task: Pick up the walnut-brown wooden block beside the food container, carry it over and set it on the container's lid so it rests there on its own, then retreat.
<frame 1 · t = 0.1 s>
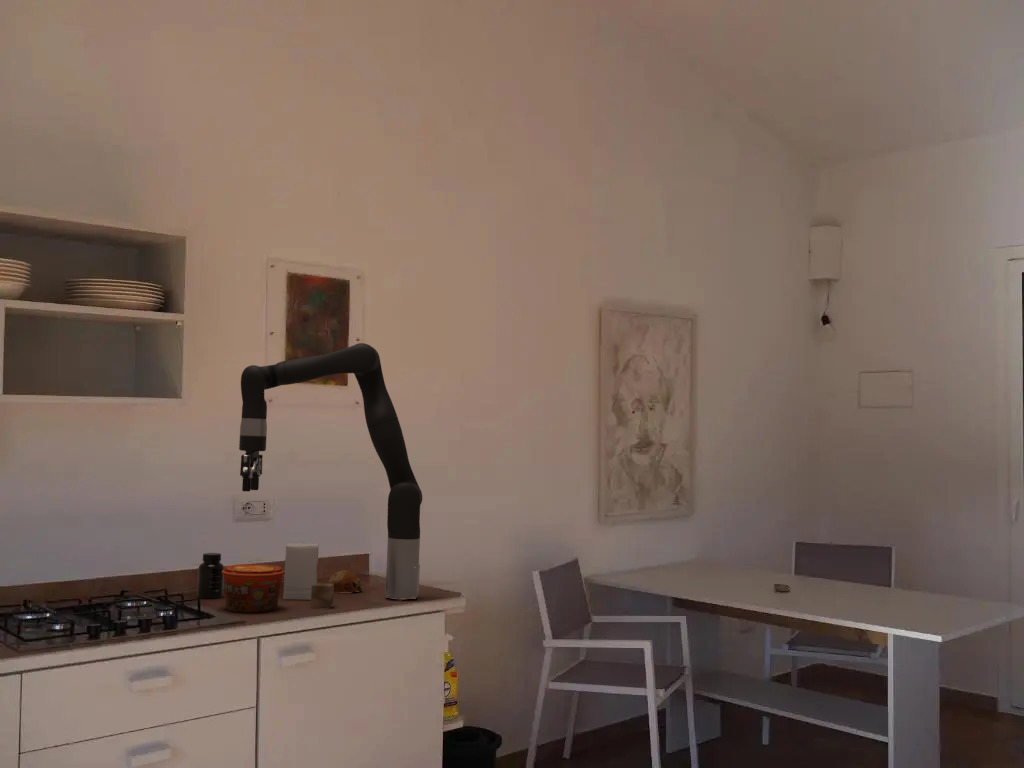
hand: (250, 490, 286), 29 cm above the worktop, fingers open, 8 cm apart
supplement bottle: (209, 598, 275), on the worktop
supplement box: (300, 598, 279), on the worktop
bread roll: (345, 592, 294), on the worktop
food container: (251, 609, 258), on the worktop
walnut block: (321, 607, 265), on the worktop
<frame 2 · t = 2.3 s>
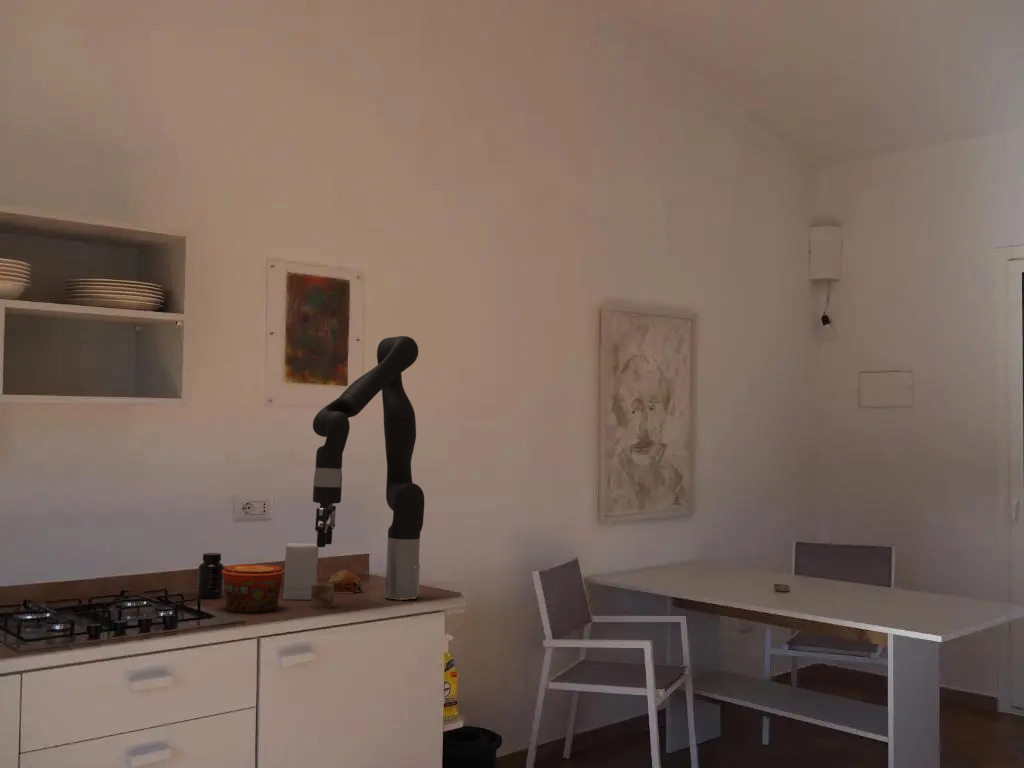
hand: (324, 545, 266), 16 cm above the worktop, fingers open, 8 cm apart
nothing on the worktop moved.
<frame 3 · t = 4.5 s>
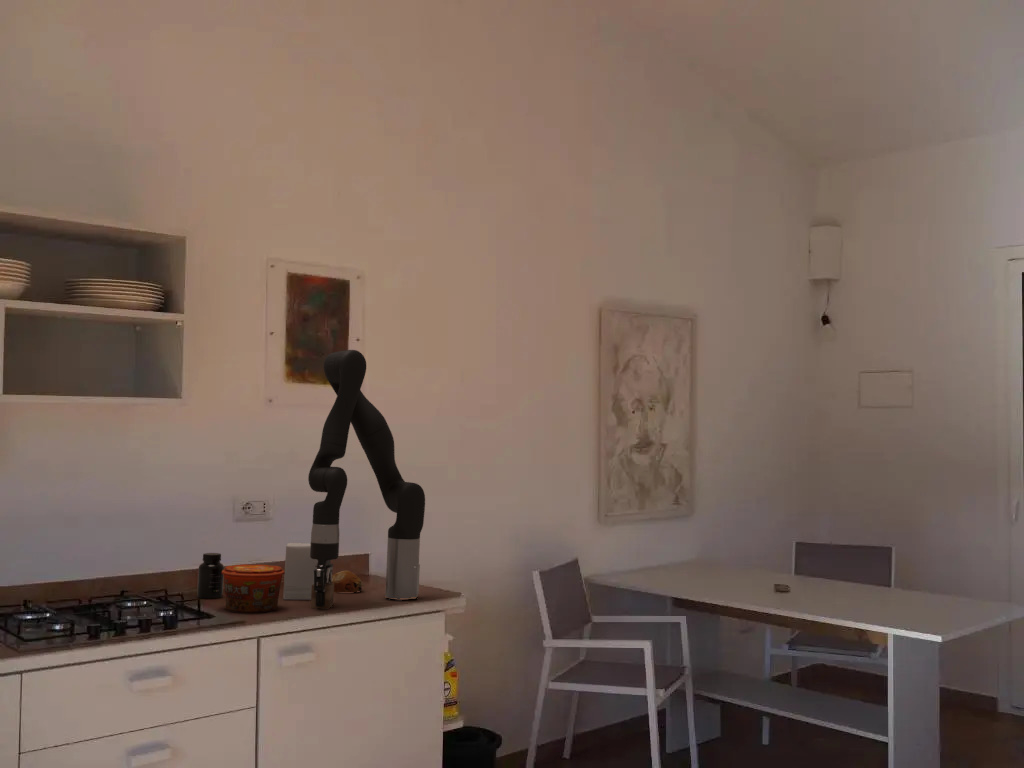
hand: (322, 604, 265), 1 cm above the worktop, fingers closed on walnut block, 5 cm apart
walnut block: (321, 607, 265), on the worktop, touching gripper
everything else where it was.
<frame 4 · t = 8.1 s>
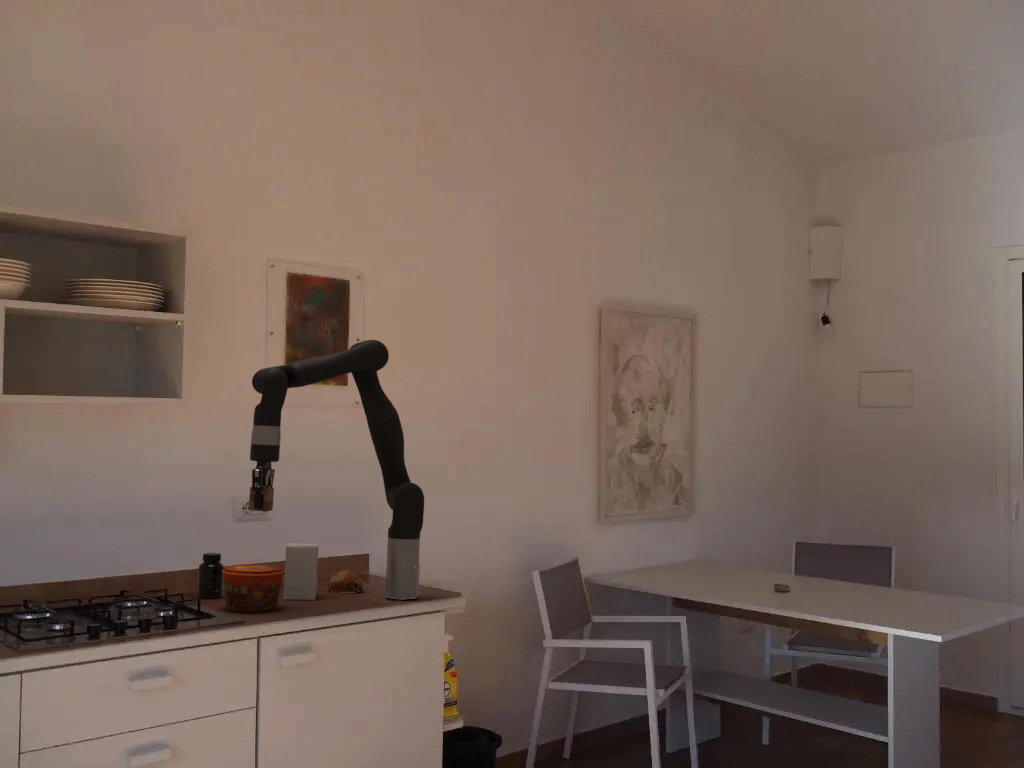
hand: (261, 507, 260), 26 cm above the worktop, fingers closed on walnut block, 5 cm apart
walnut block: (260, 510, 260), point 26 cm above the worktop, touching gripper
everything else where it was.
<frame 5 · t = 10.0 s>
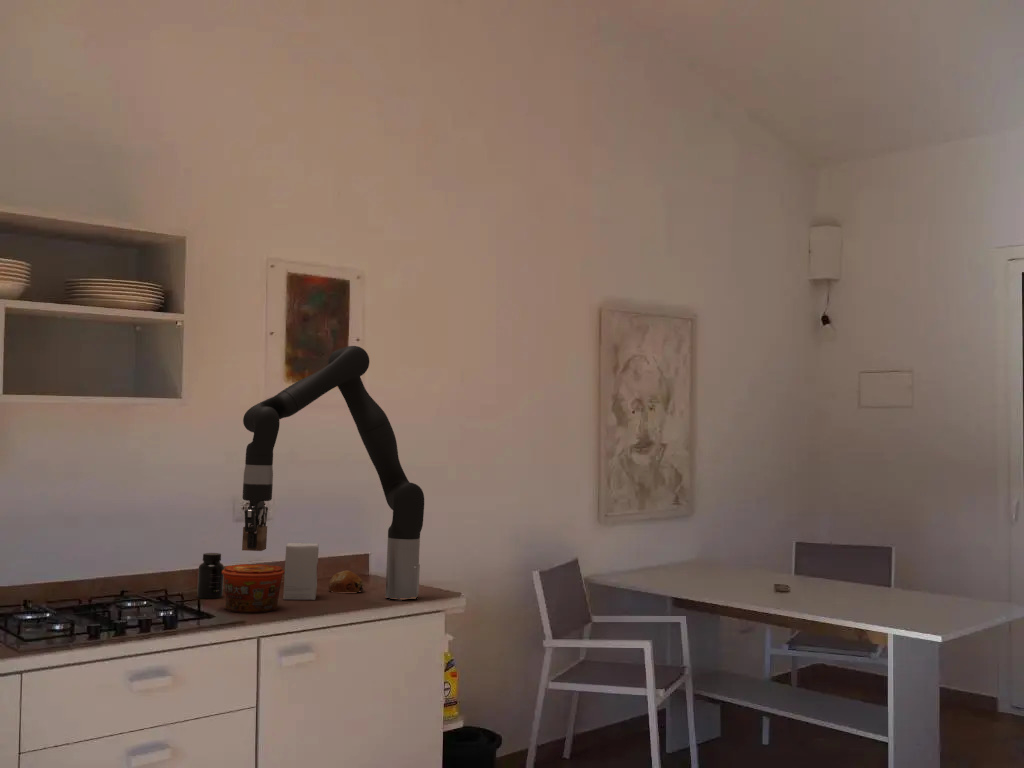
hand: (254, 547, 259), 16 cm above the worktop, fingers closed on walnut block, 5 cm apart
walnut block: (254, 549, 259), point 15 cm above the worktop, touching gripper
everything else where it was.
when the fingers open (13 cm above the worktop, at t = 11.5 s): walnut block drops 2 cm, resting on food container.
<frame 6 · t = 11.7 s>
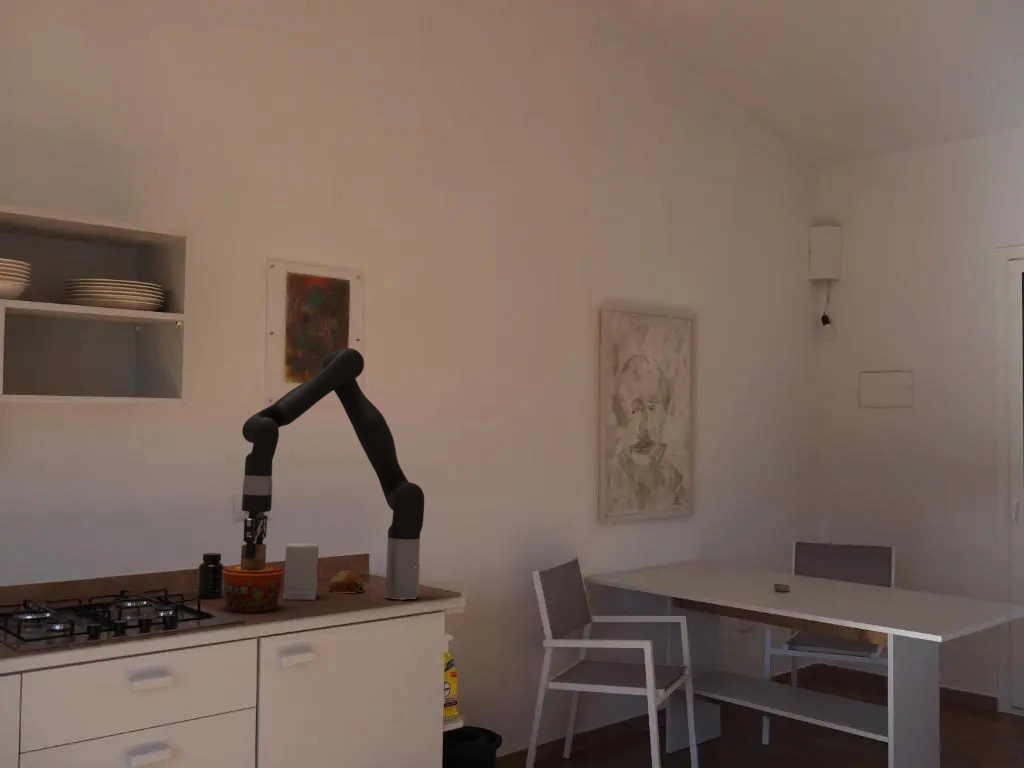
hand: (254, 556, 259), 14 cm above the worktop, fingers open, 6 cm apart
food container: (251, 609, 258), on the worktop, touching walnut block
walnut block: (252, 567, 259), point 11 cm above the worktop, touching food container
everything else where it was.
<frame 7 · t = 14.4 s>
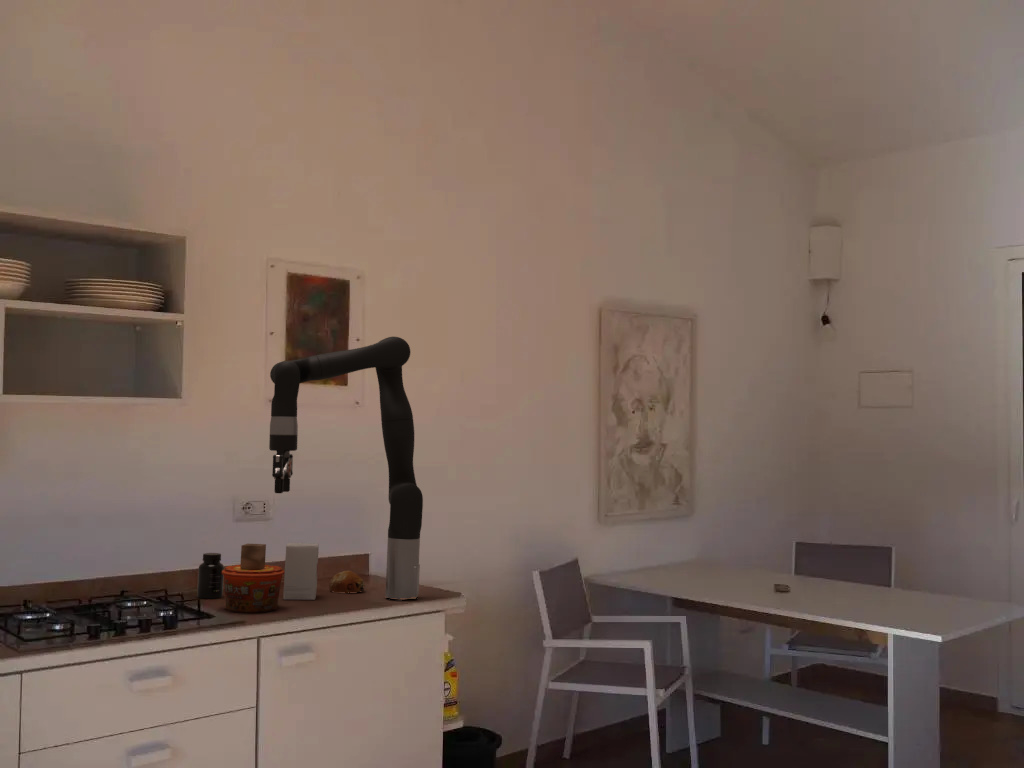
hand: (282, 492, 272), 30 cm above the worktop, fingers open, 8 cm apart
nothing on the worktop moved.
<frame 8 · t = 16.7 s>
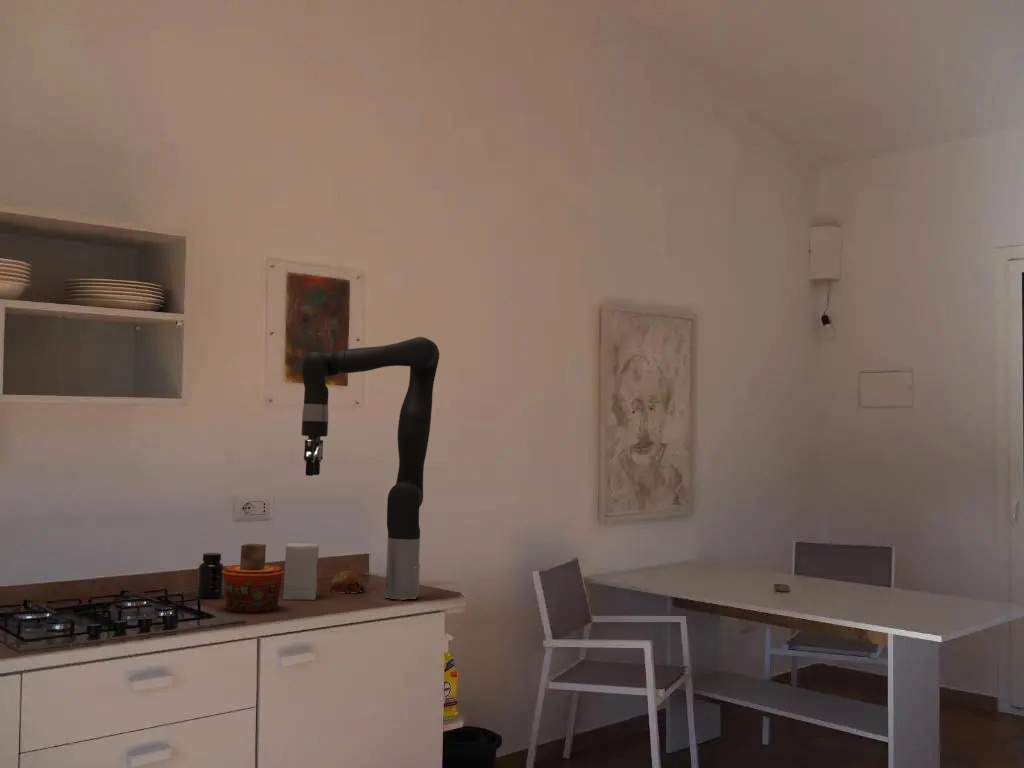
hand: (312, 475, 290), 34 cm above the worktop, fingers open, 8 cm apart
at the end: walnut block point 10.6 cm above the worktop; walnut block 0.4 cm from the food container (horizontally); the gripper is holding nothing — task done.
